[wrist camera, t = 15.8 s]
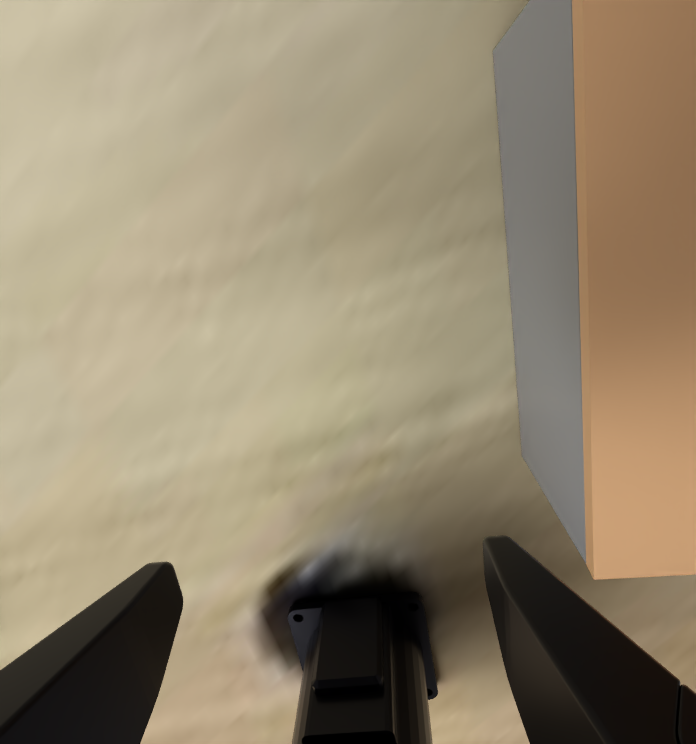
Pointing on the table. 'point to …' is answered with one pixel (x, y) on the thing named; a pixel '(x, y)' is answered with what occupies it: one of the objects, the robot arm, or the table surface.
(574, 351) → the grey hollow box
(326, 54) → the table surface
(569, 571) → the table surface
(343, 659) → the robot arm
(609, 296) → the tan box lid
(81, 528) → the table surface
